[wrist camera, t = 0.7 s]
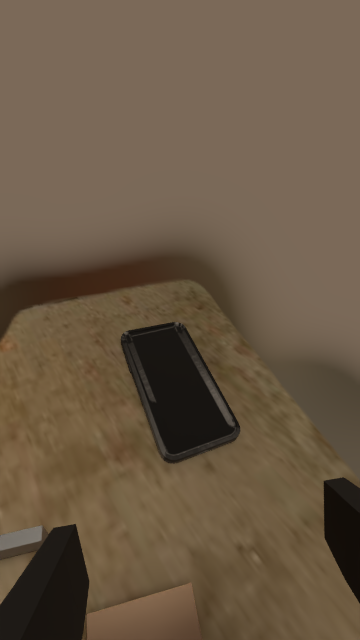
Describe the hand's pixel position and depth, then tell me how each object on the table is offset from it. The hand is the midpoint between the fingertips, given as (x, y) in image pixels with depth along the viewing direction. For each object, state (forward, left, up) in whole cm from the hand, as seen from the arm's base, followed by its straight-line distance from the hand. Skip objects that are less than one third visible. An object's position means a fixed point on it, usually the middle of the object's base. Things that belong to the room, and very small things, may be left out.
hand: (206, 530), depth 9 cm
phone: (+15, -5, -17) cm, 23 cm away
